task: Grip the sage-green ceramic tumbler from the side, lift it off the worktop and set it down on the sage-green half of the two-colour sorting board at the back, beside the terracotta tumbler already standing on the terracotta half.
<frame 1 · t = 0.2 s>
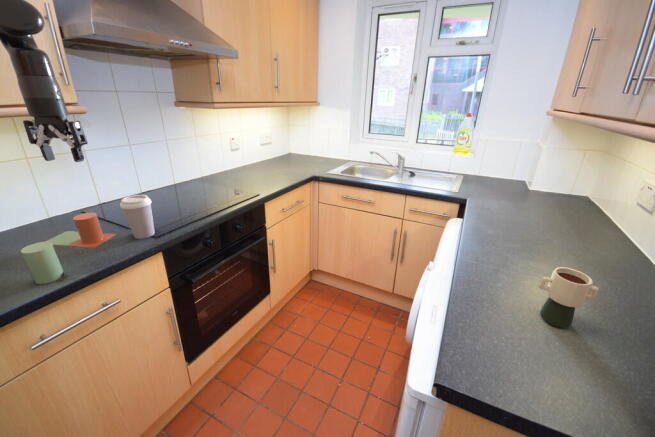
hand: (65, 160, 80), 32 cm above the countertop, tool pointing down, fingers open, 8 cm apart
coffee cup: (145, 237, 109), on the countertop
terracotta tumbler: (93, 239, 104), point 1 cm above the countertop, touching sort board
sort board: (80, 241, 105), on the countertop
sage tumbler: (50, 277, 85), on the countertop
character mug: (553, 320, 72), on the countertop
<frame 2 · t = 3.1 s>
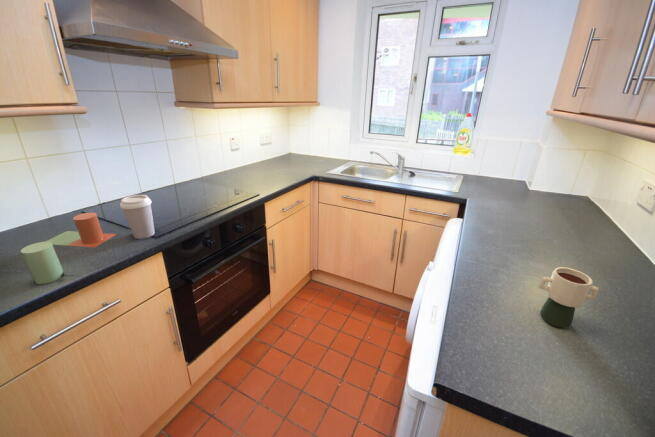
nothing on the countertop moved.
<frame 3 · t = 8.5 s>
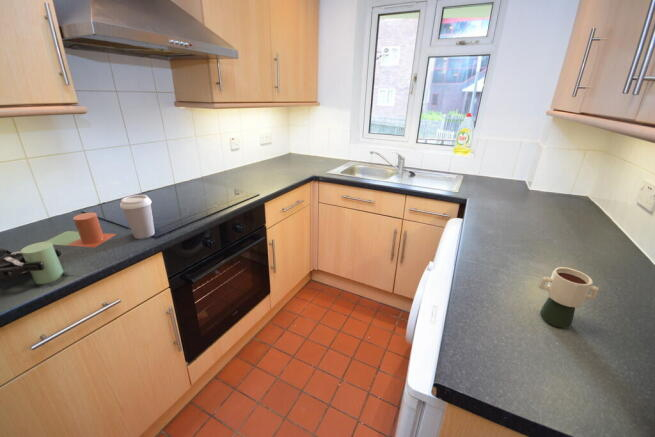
hand: (51, 259, 83), 6 cm above the countertop, tool horizontal, fingers closed on sage tumbler, 6 cm apart
sage tumbler: (50, 277, 85), on the countertop, touching gripper
everything else where it was.
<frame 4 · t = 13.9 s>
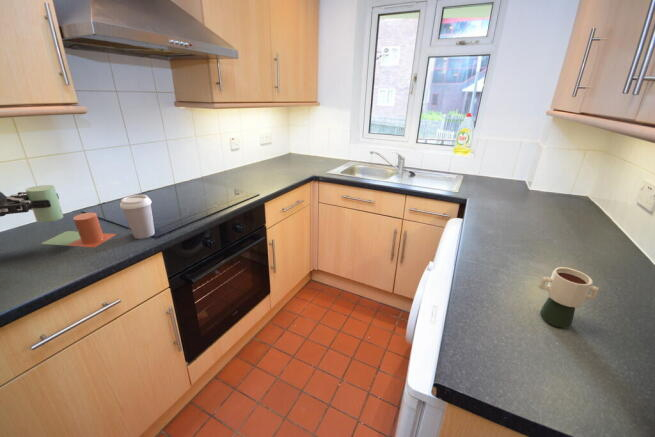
hand: (53, 199, 92), 18 cm above the countertop, tool horizontal, fingers closed on sage tumbler, 6 cm apart
sage tumbler: (50, 218, 93), point 12 cm above the countertop, touching gripper
everything else where it was.
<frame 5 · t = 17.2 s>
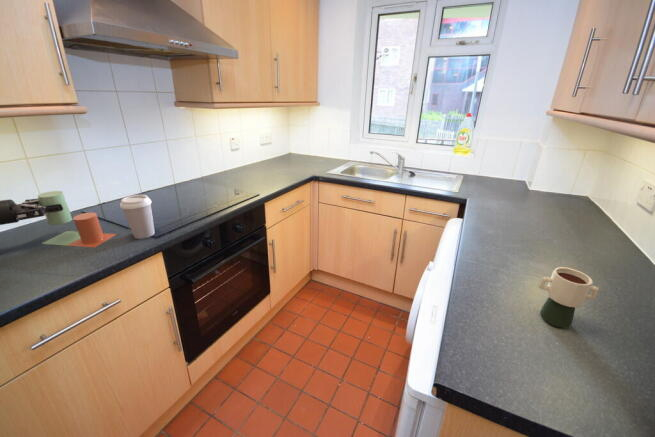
hand: (63, 203, 101), 13 cm above the countertop, tool horizontal, fingers closed on sage tumbler, 6 cm apart
sage tumbler: (60, 221, 103), point 7 cm above the countertop, touching gripper
everything else where it was.
when the fingers open (7 cm above the countertop, at t = 19.6 s): sage tumbler stays where it is, resting on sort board.
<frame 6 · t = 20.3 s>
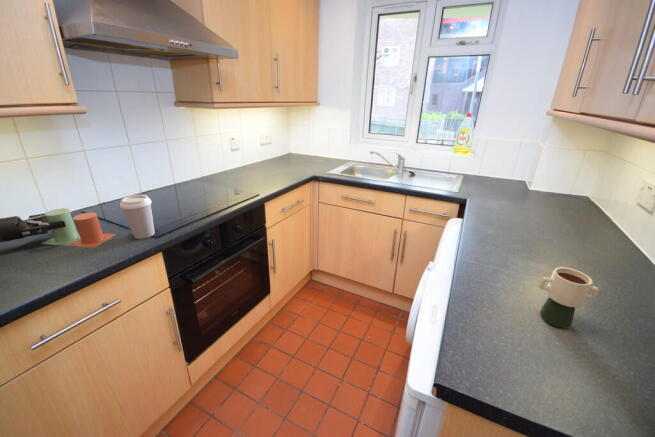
hand: (66, 219, 103), 8 cm above the countertop, tool horizontal, fingers open, 8 cm apart
sage tumbler: (67, 237, 105), point 1 cm above the countertop, touching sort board
everything else where it was.
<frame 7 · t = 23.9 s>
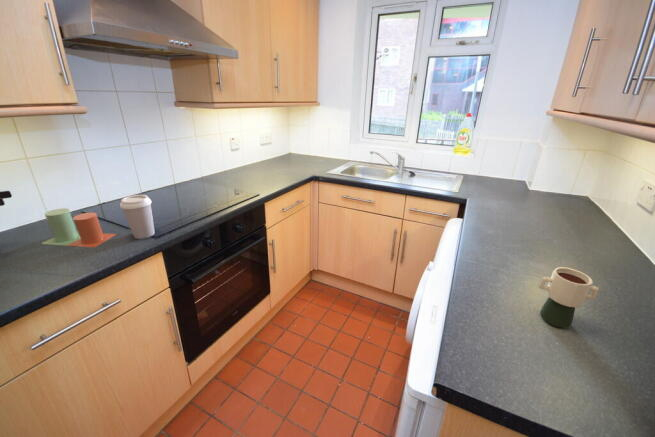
hand: (7, 197, 93), 18 cm above the countertop, tool horizontal, fingers open, 8 cm apart
nothing on the countertop moved.
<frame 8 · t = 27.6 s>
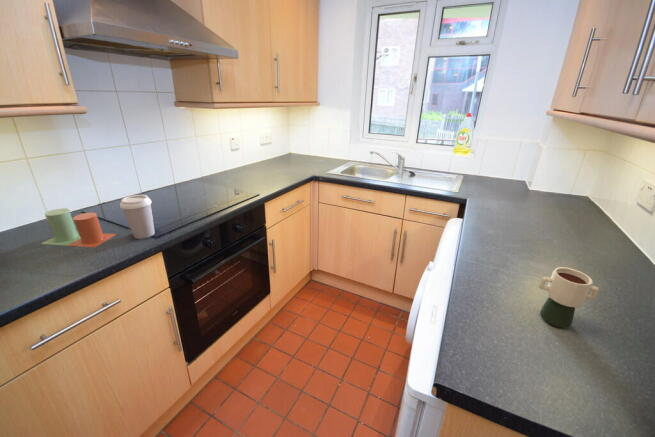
nothing on the countertop moved.
at the end: sage tumbler inside the target area on the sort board (0.4 cm from its centre), point 1.0 cm above the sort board's base; sage tumbler tilted 0°; terracotta tumbler inside the target area on the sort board (0.0 cm from its centre), point 1.0 cm above the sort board's base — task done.
